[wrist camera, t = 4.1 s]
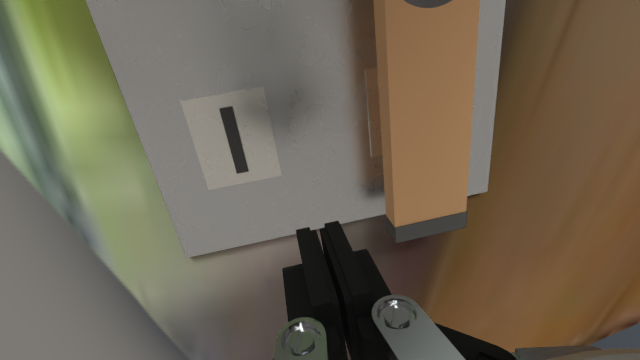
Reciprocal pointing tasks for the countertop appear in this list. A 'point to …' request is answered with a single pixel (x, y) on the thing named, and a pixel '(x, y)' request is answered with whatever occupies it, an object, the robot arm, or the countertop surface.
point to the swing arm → (426, 111)
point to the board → (268, 110)
